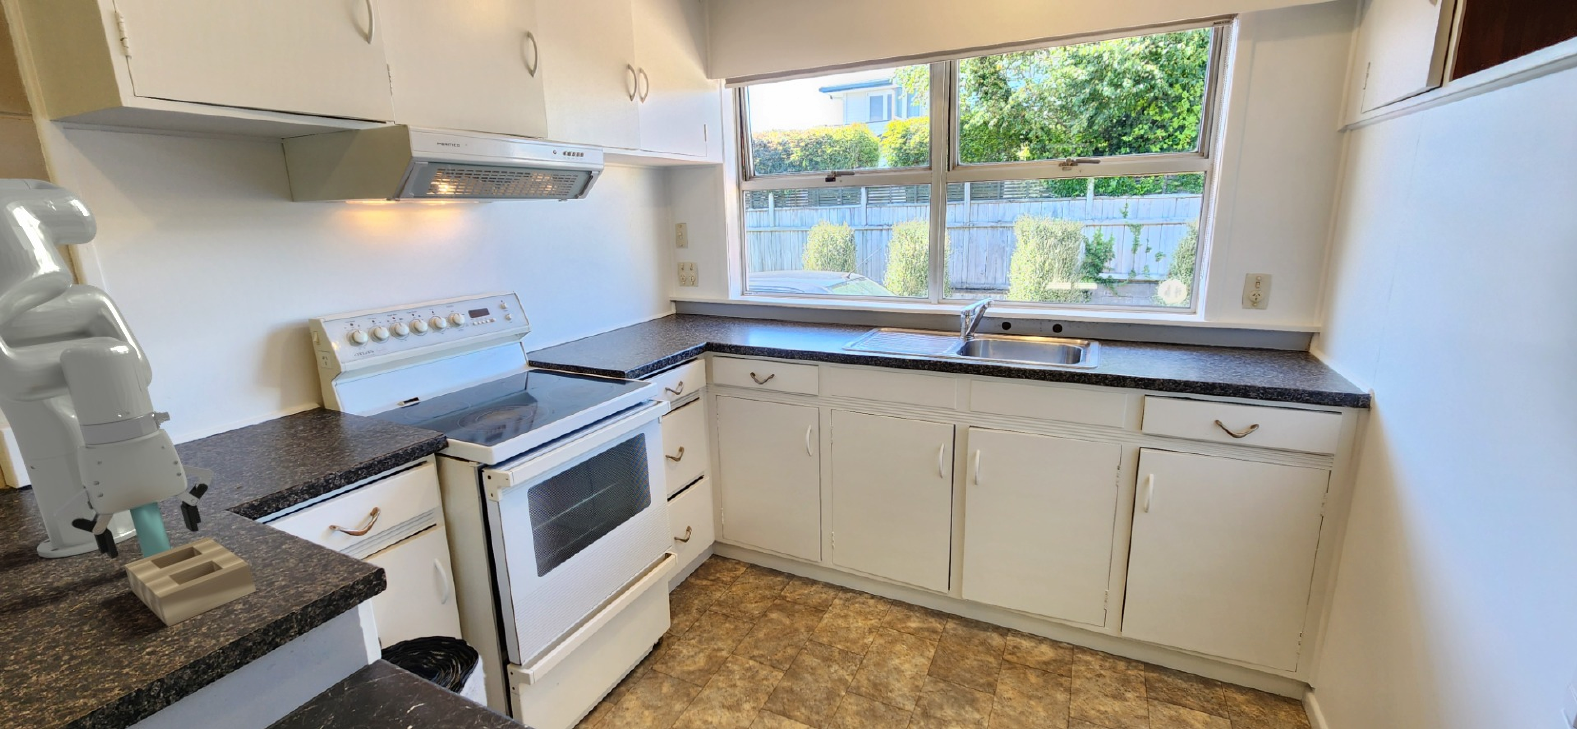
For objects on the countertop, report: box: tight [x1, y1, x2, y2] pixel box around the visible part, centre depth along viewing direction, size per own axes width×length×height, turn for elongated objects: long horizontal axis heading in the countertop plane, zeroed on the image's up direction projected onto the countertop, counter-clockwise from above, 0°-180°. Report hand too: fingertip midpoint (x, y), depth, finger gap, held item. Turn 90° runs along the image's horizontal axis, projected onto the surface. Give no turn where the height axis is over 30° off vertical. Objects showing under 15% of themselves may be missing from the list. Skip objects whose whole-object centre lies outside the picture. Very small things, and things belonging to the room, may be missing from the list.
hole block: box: [123, 536, 257, 627], centre depth 89 cm, size 16×9×4 cm, turn 56°
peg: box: [130, 502, 172, 559], centre depth 97 cm, size 3×3×10 cm
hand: (154, 541), depth 97 cm, fingers open, 8 cm apart
